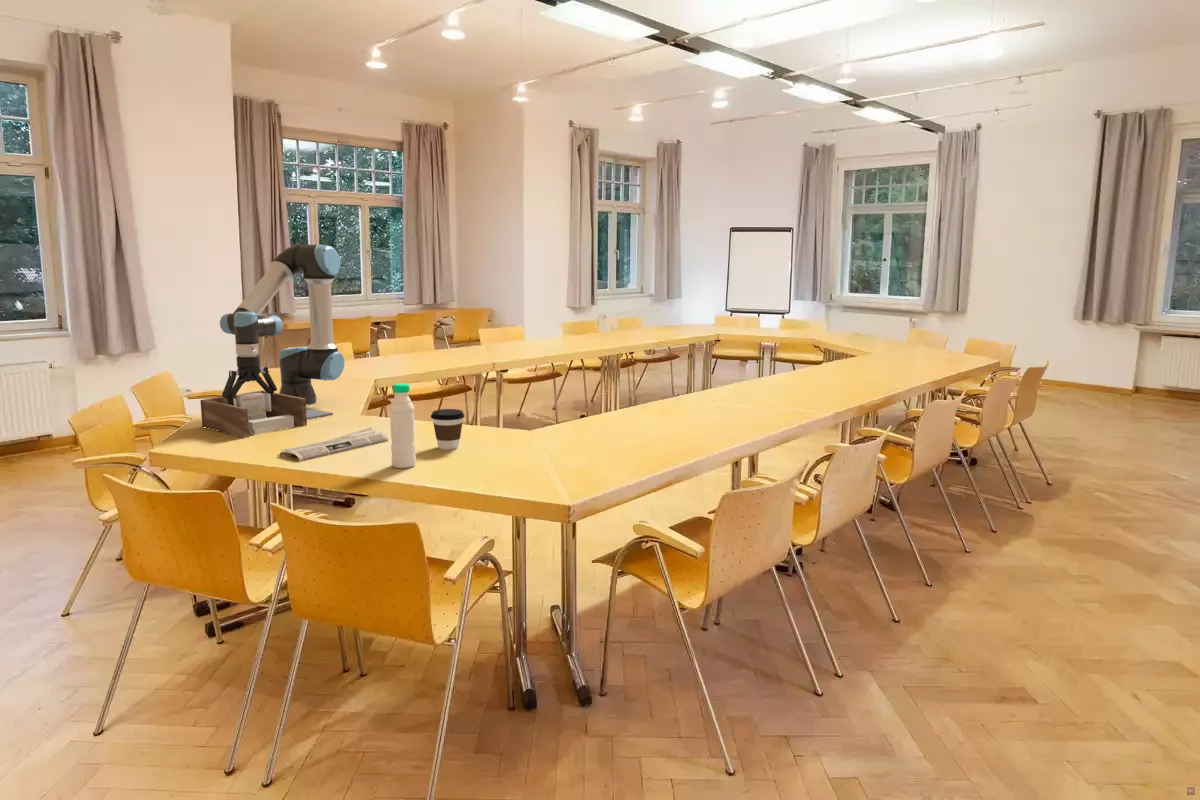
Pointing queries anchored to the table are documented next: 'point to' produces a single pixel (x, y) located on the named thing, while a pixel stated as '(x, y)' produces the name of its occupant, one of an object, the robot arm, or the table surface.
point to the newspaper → (336, 445)
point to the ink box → (253, 405)
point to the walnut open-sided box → (236, 418)
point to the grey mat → (316, 413)
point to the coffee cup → (447, 427)
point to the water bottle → (402, 428)
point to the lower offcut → (270, 428)
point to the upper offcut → (270, 421)
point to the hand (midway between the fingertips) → (251, 413)
